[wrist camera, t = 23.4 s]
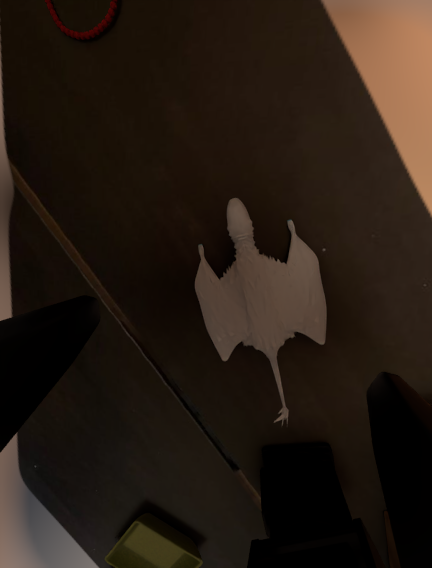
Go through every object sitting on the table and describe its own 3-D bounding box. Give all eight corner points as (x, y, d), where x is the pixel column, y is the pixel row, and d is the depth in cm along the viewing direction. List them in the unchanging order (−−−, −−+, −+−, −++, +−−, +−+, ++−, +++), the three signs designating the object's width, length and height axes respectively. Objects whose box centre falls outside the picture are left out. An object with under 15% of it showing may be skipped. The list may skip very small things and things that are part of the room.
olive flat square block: (207, 539, 28) (204, 563, 26) (171, 575, 30) (165, 600, 28) (144, 498, 28) (135, 519, 26) (112, 538, 30) (102, 560, 28)
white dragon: (341, 390, 21) (361, 427, 17) (230, 405, 23) (226, 441, 19) (301, 182, 18) (316, 170, 14) (176, 220, 20) (157, 218, 16)
